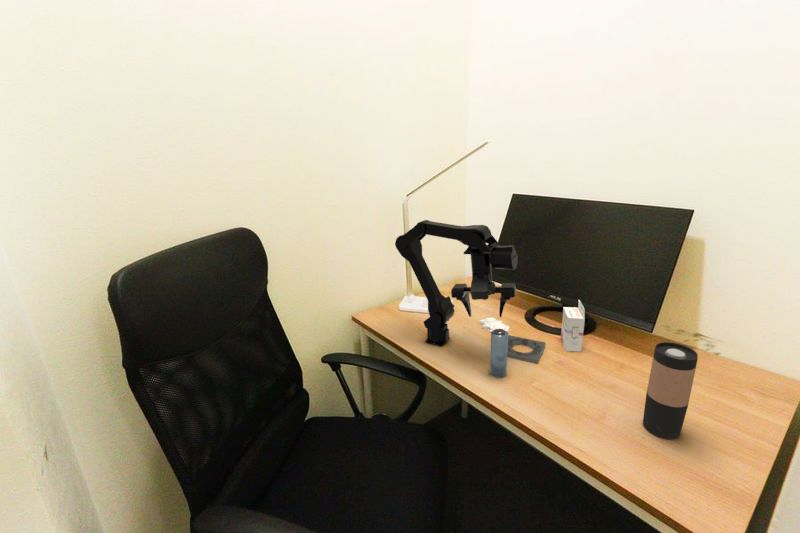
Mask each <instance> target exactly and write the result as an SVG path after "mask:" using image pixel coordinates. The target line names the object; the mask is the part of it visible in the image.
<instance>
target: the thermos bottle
mask: <svg viewBox="0 0 800 533" xmlns="http://www.w3.org/2000/svg"><path fill="white" fill-rule="evenodd" d="M508 335H509V332H507V331H505V330H503V329H495V330H493V331H492V332H491V333H490V336H491V337H490V359H489V360H490V362H489V364H490V365H489V366H490V367H489V374H490V376H492V377H493V378H496V379H503V378H506V376H507V372H508V371H507V368H508V357H507V351H508Z"/></svg>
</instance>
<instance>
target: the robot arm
mask: <svg viewBox="0 0 800 533" xmlns="http://www.w3.org/2000/svg"><path fill="white" fill-rule="evenodd" d="M426 236H432V237H438V238H444V239H449V240H450V239H451V240H455V241H458V242H460V243H462V245H465V246H467V248H466V249H465V250H464V251H463V255H470V264H471V272H472V273H471V278H472V279H471V283H470V286H468V284H467V283H455V284H454V285H453V286H452V288H451V292H450V293H451V297H450V296H447V297H445V296H444V295H443V294H442V293H441V291H440V289H439V287H438V285H437V283H436V281H435V279H434V277H433V275H432V273H431V271H430V269H429V266H428V264H427V262H426V261H425V258H424V255H423V244H422V241H421V240H423V239H424V238H425V237H426ZM394 245H395V248H396V250H397V251H398V253H399V254H400V255H401V257H402V258H403V259H405V261H407V262H408V263H409V264H410V267H411V269H412V271H413V274H415V277H416V279H417V281H418V283H419V286H421V289H422V292H423V294H424V295H425V297H426V300H427V310H428V311H427V312H428V315H429V317H428V318H426V319H425V320H424V321H423V325H424V327H425V328H426V333H427V334H426V336H427V337H426V340H425V343H427V344H430V345H434V346H439V347H444V345H445V344H447V342H448V341H449V340H450V329H449V328H448V327H449V326H448V322H449V321H450V320H451V319H452V318H453V316H454V315H455V314H454V313H455V305H454V303H453V302H452V300H451V298H454V299H456V301H460V302H461V303H462V305H463V306H464V308H465V310H466V312H467V315H468V317H470V318H471V317H472V308H471V301H470V300H471V299H472V300H474V301H476V300H483V301H486V300H488V299H489V296H491V295H495V294H500V297H499V311H498V312H499V318H502V315H503V312H504V308H505V305H506V303H507V302H508V301H510V300H511V299H512V298H515V297H516V293H517V287H516V286H517V285H516V284H515V283H514V282H502V283H501V286H496V283H495V281H493V273H492V272H493V271H492V268H493V269H496V270H512V271H513V270H516V269H517V267H518V264H519V263H518V261H519V255H518V253H517V250H516V249H515V245H514V244H511V245H500V243H499V242H498V241H497V239H496V238H495V237H494V235H493V234H492V231H491V229H490V228H489V227H488V225H485V224H472V225H463V226H462V225H456V224H450V223H444V222H443V223H442V222H437V221H432V220H428V219H425V220H424V219H423V220H421V221H419V222H417V223H416V225H414V226H413V227H412V228H410V229H409V230H408V231H407V232H405V233H404V234H402V235H399V236H397V237H396V239H395V243H394ZM469 294H470V295H469ZM470 296H471V299H470Z"/></svg>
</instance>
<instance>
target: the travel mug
mask: <svg viewBox="0 0 800 533" xmlns="http://www.w3.org/2000/svg"><path fill="white" fill-rule="evenodd" d="M652 357H653V358H652V361H651V368H650V373H649V378H648V383H647V388H646V394H645V402H644V409H643V417H642V424H643V427H644V429H645V430H646V431H648V432H649V434H651V435H654V436H655V437H658V438H660V439H664V440H677V439H678V438H679V437H680V436H681V433H682V430H683V427H684V422H685V417H686V415H687V411H688V408H689V407H688V406H689V402H690V399H691V393H692V389H693V383H694V378H695V374H696V369H697V363H698V358H699V357H698V353H697V352H696V350H694V349H693V348H691V347H688V346H686V345H683V344H681V343H676V342H670V341H667V342H660V343H657V344H656V345H655V346H654V350H653V355H652Z"/></svg>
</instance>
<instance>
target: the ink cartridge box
mask: <svg viewBox="0 0 800 533" xmlns="http://www.w3.org/2000/svg"><path fill="white" fill-rule="evenodd" d="M577 304H578V307H575V306H573V307H571V306H563V307H562V308H563V309H562V321H561V330H560V340H561V342H562V344H563V347H564V350H565V352H579V353H580V352H582V349H583V342H584V340H583V339H584V332H585V331H584V330H585V322H586V320H585V319H586V317H585V316H586V315H585V314H586V311H585V310H586V309H585V307H584V305H583V303H582V301H581V300H580V299H578V303H577Z"/></svg>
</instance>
